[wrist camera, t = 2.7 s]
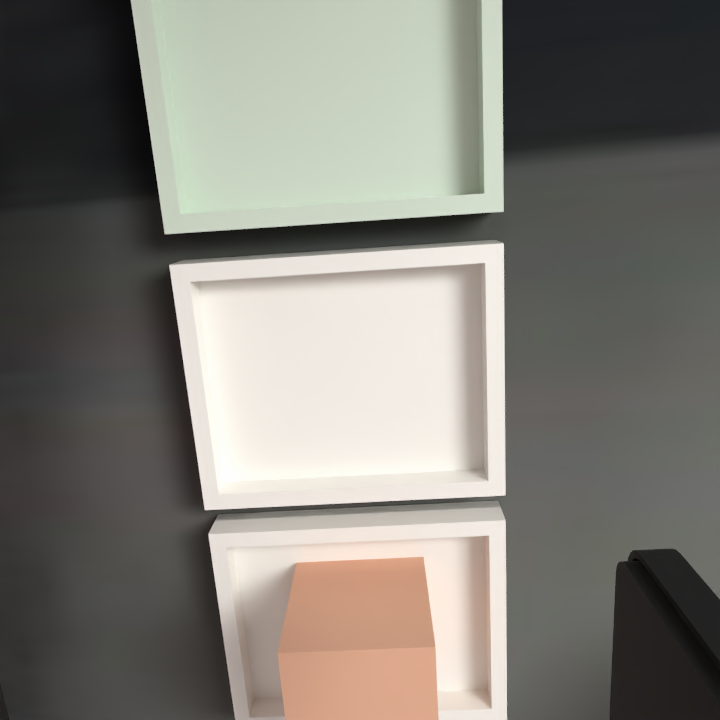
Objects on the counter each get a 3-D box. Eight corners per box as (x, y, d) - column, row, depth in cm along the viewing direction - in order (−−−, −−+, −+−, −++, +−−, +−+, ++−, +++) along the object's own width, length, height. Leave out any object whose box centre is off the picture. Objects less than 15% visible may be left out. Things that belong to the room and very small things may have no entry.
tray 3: (218, 514, 25) (208, 534, 23) (497, 500, 24) (505, 520, 23) (244, 701, 27) (236, 730, 25) (499, 692, 26) (506, 720, 25)
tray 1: (137, -62, 19) (118, -82, 18) (491, -92, 19) (501, -116, 18) (178, 231, 22) (164, 234, 20) (494, 210, 21) (503, 211, 20)
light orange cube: (292, 562, 25) (272, 653, 20) (423, 556, 24) (435, 647, 19) (304, 668, 26) (287, 778, 21) (428, 663, 26) (440, 773, 21)
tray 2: (182, 260, 22) (169, 265, 21) (495, 239, 22) (503, 243, 20) (214, 491, 24) (204, 510, 23) (497, 476, 24) (505, 495, 22)
